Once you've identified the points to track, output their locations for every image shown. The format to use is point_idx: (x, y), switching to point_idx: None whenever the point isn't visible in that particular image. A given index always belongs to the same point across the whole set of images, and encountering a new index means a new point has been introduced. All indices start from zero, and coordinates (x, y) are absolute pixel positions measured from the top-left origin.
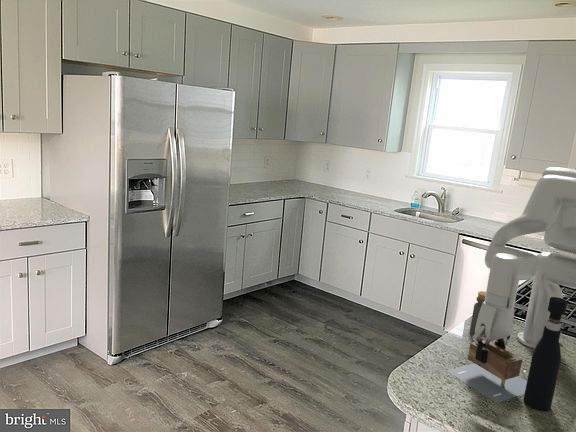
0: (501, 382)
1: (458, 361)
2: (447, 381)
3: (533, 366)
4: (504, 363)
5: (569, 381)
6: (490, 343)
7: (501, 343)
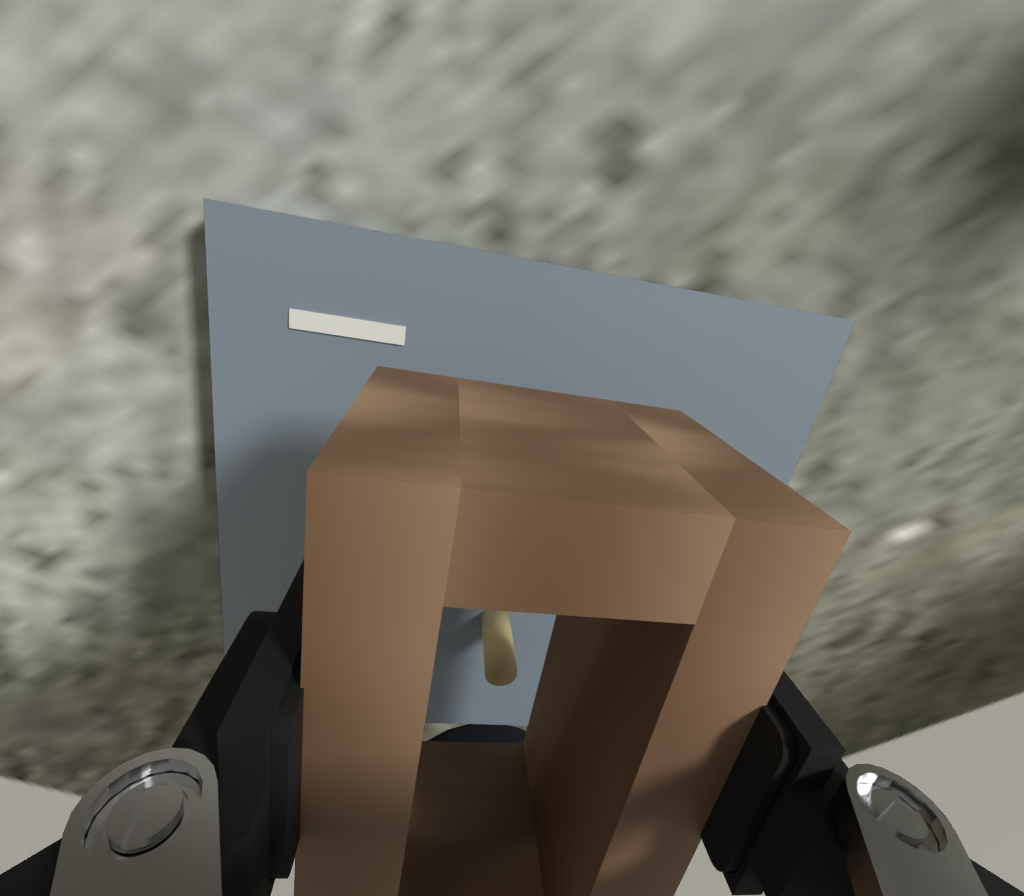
0: (484, 632)
1: (619, 100)
2: (133, 300)
3: None
4: None
5: (955, 710)
6: (725, 670)
7: (769, 882)
